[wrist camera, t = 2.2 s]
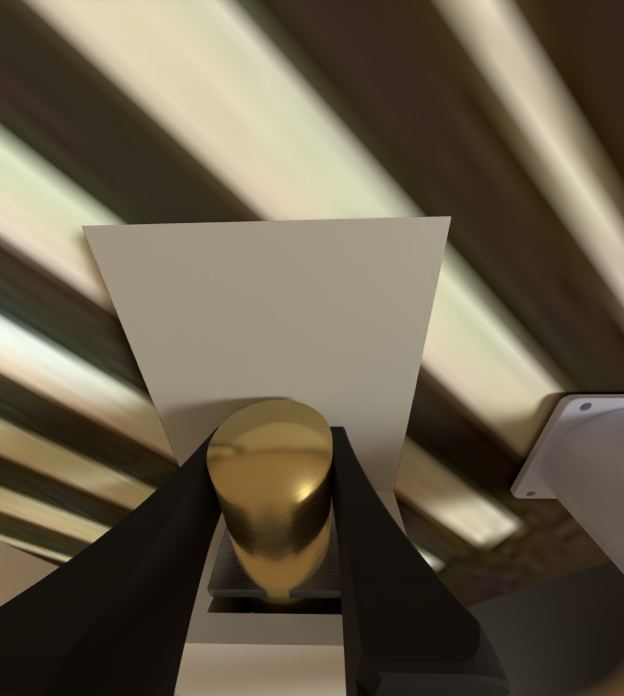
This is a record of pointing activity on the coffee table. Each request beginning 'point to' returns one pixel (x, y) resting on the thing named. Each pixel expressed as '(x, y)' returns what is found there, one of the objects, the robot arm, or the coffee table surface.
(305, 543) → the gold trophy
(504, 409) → the coffee table surface
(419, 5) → the coffee table surface
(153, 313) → the housing
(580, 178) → the coffee table surface
